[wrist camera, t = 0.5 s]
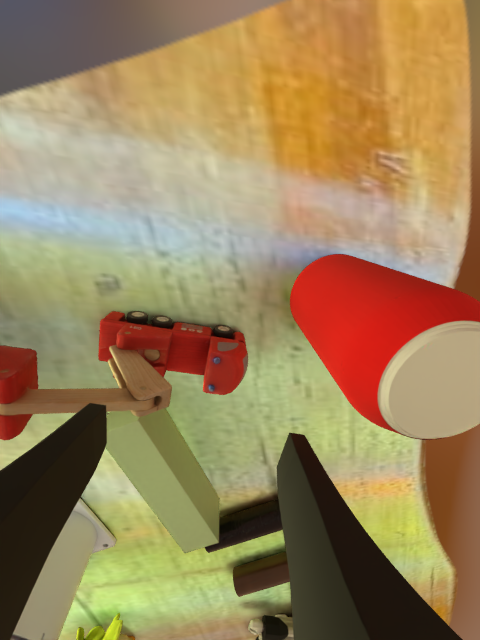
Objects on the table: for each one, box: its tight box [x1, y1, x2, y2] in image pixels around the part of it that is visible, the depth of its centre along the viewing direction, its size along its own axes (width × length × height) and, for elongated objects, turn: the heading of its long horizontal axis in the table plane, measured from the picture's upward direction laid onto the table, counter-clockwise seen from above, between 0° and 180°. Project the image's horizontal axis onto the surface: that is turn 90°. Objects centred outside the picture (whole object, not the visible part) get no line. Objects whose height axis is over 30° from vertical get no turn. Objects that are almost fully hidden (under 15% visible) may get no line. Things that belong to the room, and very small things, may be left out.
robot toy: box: [248, 614, 294, 640], centre depth 34 cm, size 12×4×15 cm
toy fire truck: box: [0, 311, 248, 440], centre depth 17 cm, size 3×14×10 cm, turn 78°
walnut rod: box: [233, 551, 290, 597], centre depth 30 cm, size 12×2×2 cm, turn 111°
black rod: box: [205, 499, 283, 553], centre depth 27 cm, size 12×2×2 cm, turn 111°
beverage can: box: [290, 254, 480, 440], centre depth 15 cm, size 6×6×12 cm
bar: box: [105, 408, 220, 553], centre depth 23 cm, size 14×3×4 cm, turn 21°
